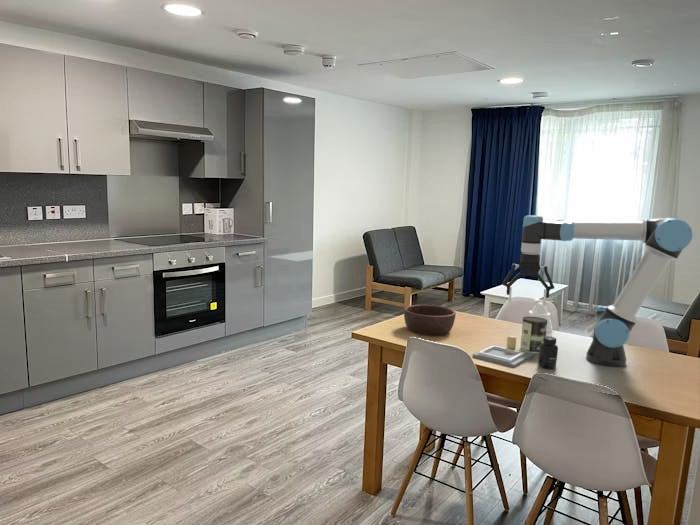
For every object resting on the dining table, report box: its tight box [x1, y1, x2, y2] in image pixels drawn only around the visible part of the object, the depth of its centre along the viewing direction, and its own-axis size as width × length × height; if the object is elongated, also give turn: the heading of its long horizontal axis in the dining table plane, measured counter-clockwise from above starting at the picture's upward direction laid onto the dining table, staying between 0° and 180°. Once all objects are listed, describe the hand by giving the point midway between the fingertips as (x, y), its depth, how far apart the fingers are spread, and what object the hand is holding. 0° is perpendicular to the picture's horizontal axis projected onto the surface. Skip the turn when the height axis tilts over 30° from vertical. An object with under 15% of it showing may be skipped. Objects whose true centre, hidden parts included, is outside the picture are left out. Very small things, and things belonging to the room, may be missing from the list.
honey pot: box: [528, 298, 553, 337], centre depth 256 cm, size 13×13×18 cm
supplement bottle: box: [537, 336, 559, 370], centre depth 211 cm, size 7×7×12 cm
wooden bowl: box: [403, 304, 457, 337], centre depth 259 cm, size 25×25×10 cm
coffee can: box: [519, 315, 548, 355], centre depth 233 cm, size 10×10×14 cm
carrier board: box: [472, 335, 535, 368], centre depth 222 cm, size 18×20×7 cm
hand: (526, 304), depth 220 cm, fingers open, 13 cm apart
